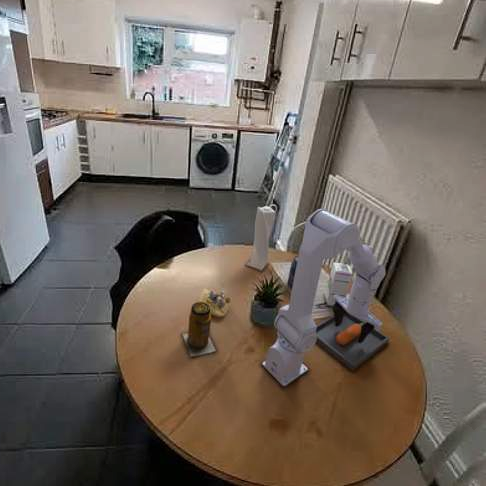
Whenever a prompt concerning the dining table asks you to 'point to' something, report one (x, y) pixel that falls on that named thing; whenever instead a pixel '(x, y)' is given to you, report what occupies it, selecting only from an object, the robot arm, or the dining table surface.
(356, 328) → the carrot
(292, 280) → the soda can
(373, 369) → the dining table surface
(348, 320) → the gray tray
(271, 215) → the skyscraper
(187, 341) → the condiment
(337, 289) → the syrup box
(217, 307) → the cake
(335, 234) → the robot arm
